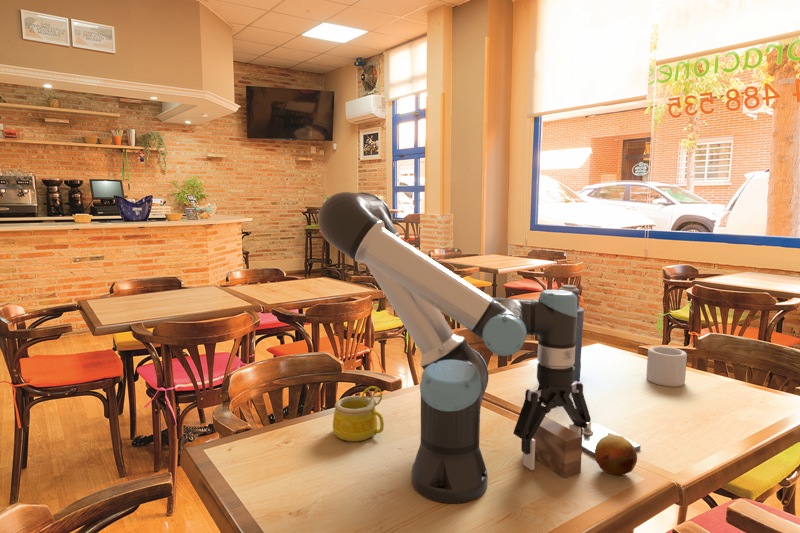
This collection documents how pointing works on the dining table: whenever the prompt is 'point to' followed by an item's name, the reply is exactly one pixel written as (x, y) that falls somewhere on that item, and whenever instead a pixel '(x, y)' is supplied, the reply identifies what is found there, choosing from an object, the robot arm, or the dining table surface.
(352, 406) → the mug
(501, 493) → the dining table surface
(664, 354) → the mug
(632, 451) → the fruit
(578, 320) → the bottle
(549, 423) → the door
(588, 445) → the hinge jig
